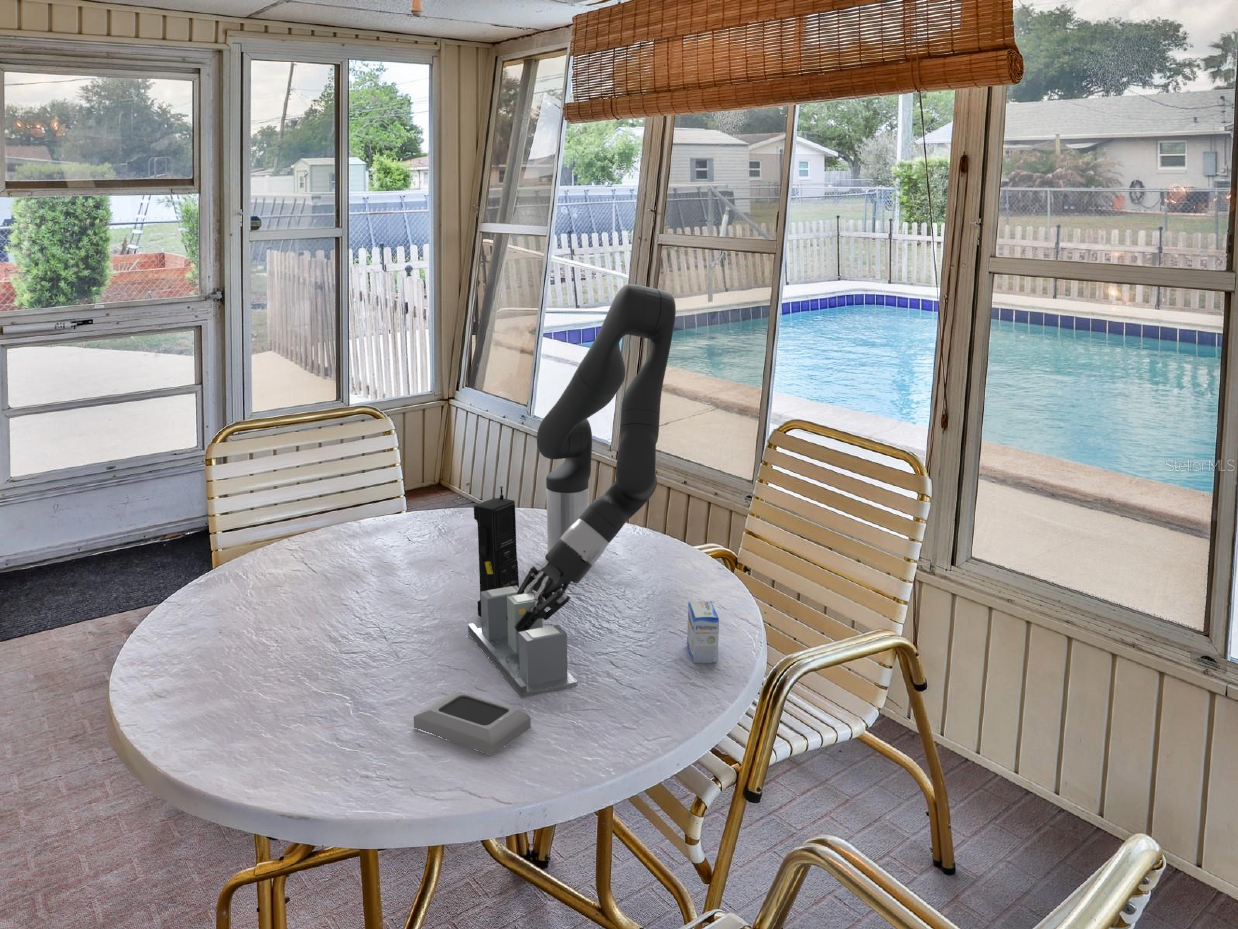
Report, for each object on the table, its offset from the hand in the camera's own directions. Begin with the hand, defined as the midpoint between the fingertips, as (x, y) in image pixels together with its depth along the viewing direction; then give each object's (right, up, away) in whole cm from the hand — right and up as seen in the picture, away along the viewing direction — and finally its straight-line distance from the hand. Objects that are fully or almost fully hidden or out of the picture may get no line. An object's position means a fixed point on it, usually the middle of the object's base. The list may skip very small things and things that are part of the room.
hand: (514, 626), depth 179 cm
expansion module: (+2, -4, +2) cm, 5 cm away
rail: (+1, -6, +2) cm, 6 cm away
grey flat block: (-4, -13, -22) cm, 25 cm away
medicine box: (+33, -6, +4) cm, 34 cm away
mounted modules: (+1, -6, +2) cm, 6 cm away
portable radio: (-5, -1, +21) cm, 21 cm away
